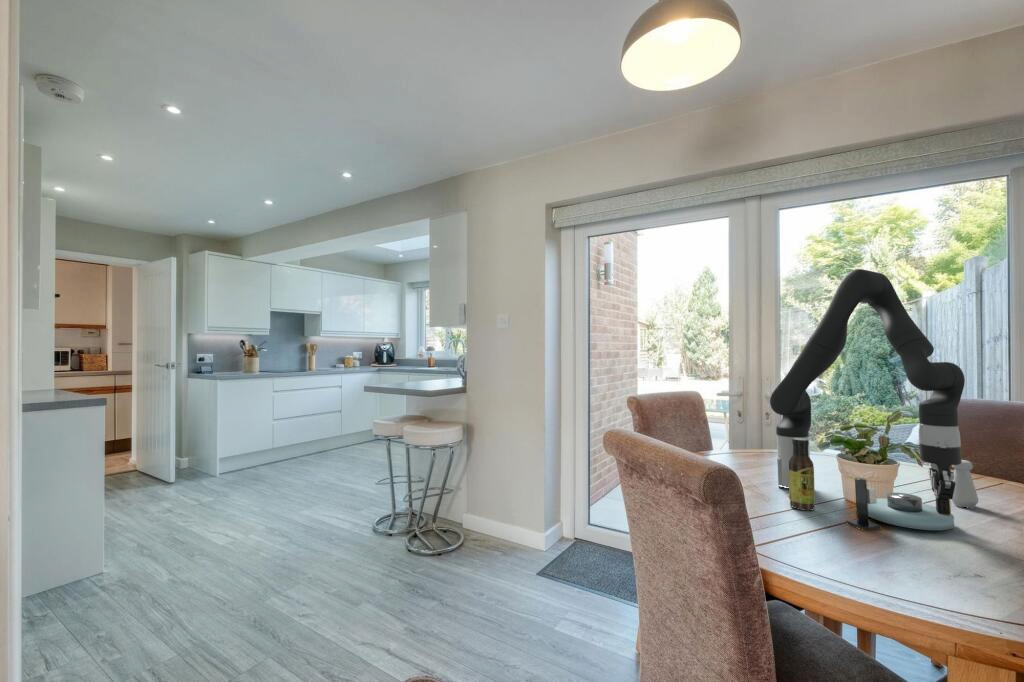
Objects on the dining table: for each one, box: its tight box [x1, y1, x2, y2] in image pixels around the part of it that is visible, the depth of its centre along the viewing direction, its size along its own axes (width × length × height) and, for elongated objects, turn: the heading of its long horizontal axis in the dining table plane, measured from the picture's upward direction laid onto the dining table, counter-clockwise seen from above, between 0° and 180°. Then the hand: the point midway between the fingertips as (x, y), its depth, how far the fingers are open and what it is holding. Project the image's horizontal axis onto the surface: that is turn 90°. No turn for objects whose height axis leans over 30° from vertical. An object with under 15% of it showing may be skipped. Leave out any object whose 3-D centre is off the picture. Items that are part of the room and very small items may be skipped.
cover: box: [886, 492, 923, 513], centre depth 120 cm, size 7×7×3 cm
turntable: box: [868, 497, 955, 531], centre depth 119 cm, size 18×18×7 cm
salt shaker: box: [950, 459, 979, 509], centre depth 129 cm, size 6×6×13 cm
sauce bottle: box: [788, 438, 816, 511], centre depth 131 cm, size 6×6×20 cm
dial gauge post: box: [845, 477, 882, 531], centre depth 116 cm, size 6×5×12 cm
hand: (943, 513), depth 111 cm, fingers closed
